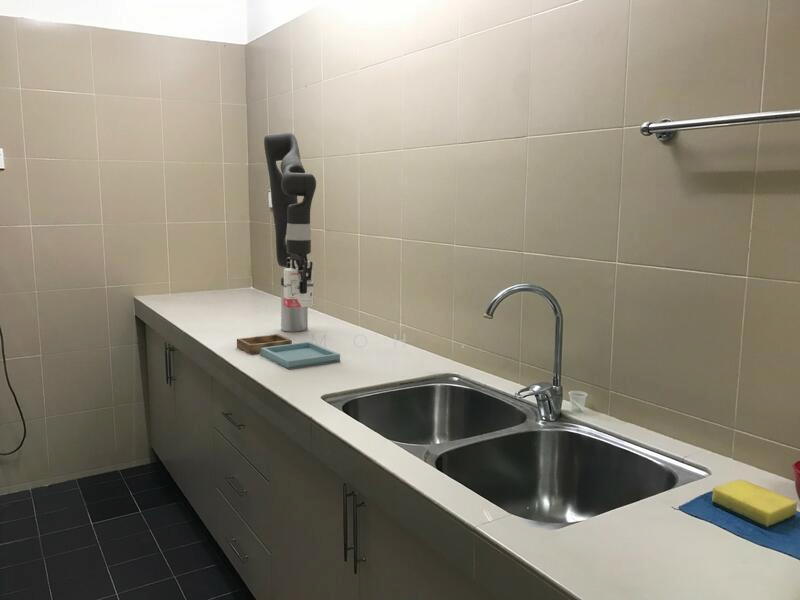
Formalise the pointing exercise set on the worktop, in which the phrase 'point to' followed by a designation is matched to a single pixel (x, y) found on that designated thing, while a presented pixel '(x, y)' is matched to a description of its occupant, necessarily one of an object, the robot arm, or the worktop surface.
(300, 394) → the worktop surface
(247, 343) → the holder
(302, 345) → the tray
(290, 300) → the ink box
